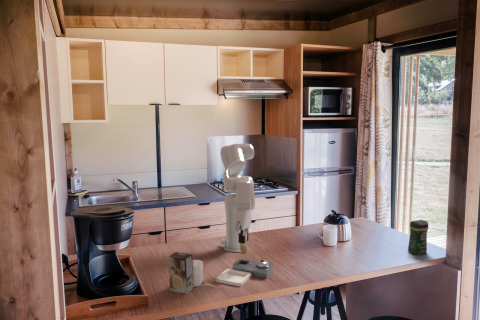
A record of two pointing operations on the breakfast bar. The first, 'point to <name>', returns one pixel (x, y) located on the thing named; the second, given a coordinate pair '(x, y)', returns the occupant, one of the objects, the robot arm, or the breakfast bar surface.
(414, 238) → the coffee jar
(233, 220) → the robot arm
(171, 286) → the coffee box
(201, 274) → the white cup
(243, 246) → the lock pin
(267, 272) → the block
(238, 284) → the tray
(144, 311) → the breakfast bar surface
